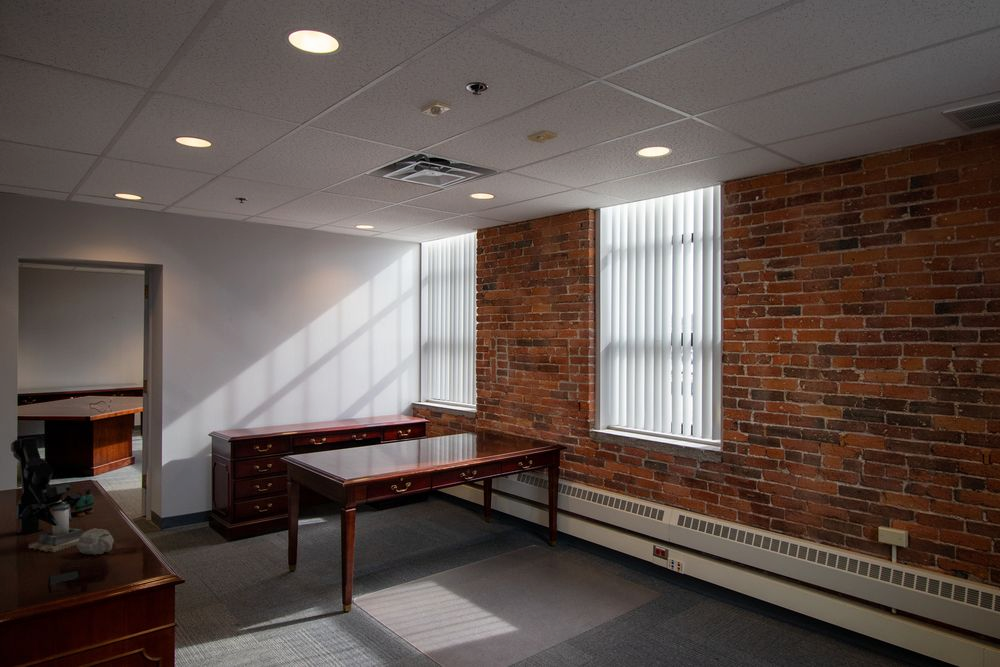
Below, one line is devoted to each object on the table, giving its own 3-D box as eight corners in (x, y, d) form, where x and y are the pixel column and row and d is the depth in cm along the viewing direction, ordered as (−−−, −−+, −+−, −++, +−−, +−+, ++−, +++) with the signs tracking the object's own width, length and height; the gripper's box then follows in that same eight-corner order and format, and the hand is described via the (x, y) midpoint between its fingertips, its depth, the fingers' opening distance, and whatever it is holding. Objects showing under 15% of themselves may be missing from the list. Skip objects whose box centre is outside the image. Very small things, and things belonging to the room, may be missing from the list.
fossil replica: (107, 557, 212) (118, 550, 222) (110, 533, 213) (121, 527, 222) (68, 557, 209) (82, 550, 219) (72, 533, 210) (85, 526, 220)
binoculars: (78, 489, 271) (96, 488, 269) (80, 512, 271) (98, 511, 269) (60, 494, 262) (78, 493, 260) (61, 518, 262) (80, 517, 260)
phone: (49, 591, 181) (49, 576, 193) (49, 594, 181) (49, 578, 193) (79, 585, 185) (77, 570, 197) (79, 588, 185) (77, 573, 197)
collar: (28, 548, 221) (28, 535, 221) (67, 536, 234) (67, 525, 235) (53, 552, 216) (53, 540, 216) (91, 540, 230) (91, 528, 230)
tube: (48, 541, 224) (48, 506, 224) (63, 537, 229) (63, 503, 229) (57, 543, 222) (58, 508, 222) (72, 538, 227) (72, 504, 227)
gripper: (27, 483, 218) (48, 516, 215) (77, 472, 236) (98, 502, 232) (12, 503, 221) (33, 535, 217) (63, 490, 238) (83, 521, 235)
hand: (63, 523), depth 225 cm, fingers closed on tube, 5 cm apart
